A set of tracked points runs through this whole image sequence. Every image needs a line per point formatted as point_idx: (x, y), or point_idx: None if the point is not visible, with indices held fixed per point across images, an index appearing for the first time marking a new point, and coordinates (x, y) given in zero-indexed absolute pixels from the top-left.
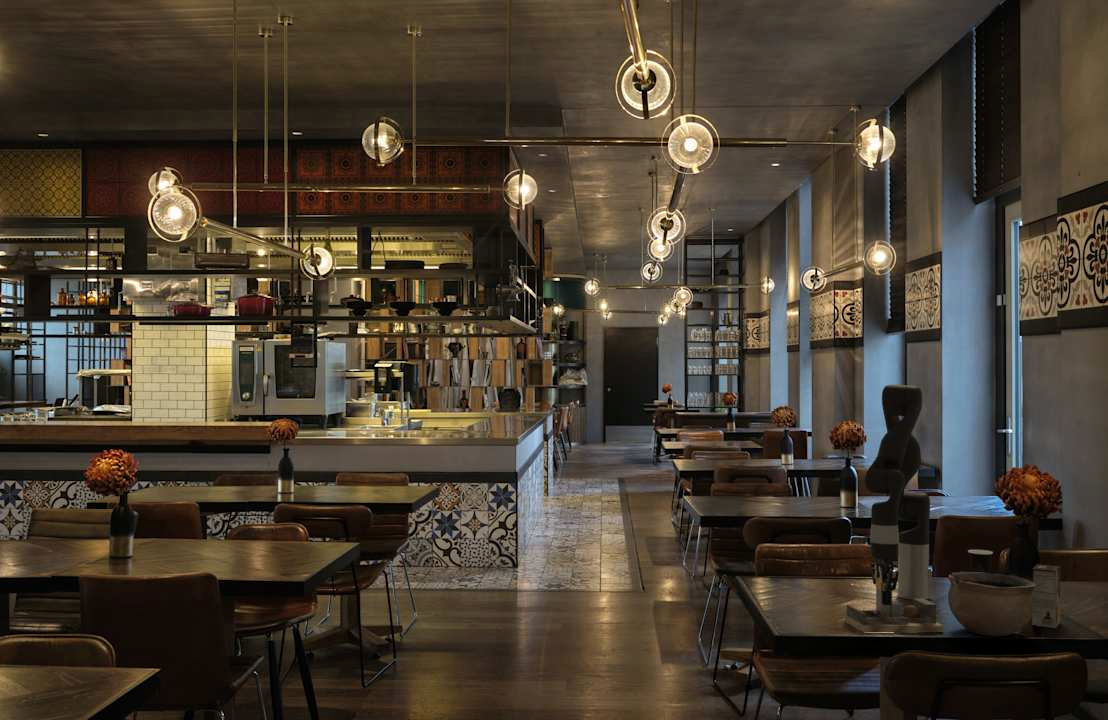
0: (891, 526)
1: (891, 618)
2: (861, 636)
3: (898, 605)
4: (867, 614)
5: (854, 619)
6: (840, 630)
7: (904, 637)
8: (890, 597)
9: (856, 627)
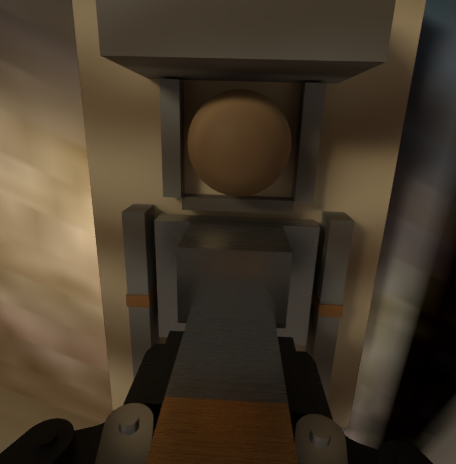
0: None
1: (339, 317)
2: (377, 428)
3: (288, 276)
4: None
5: None
6: None
7: (439, 275)
8: (322, 390)
9: None
